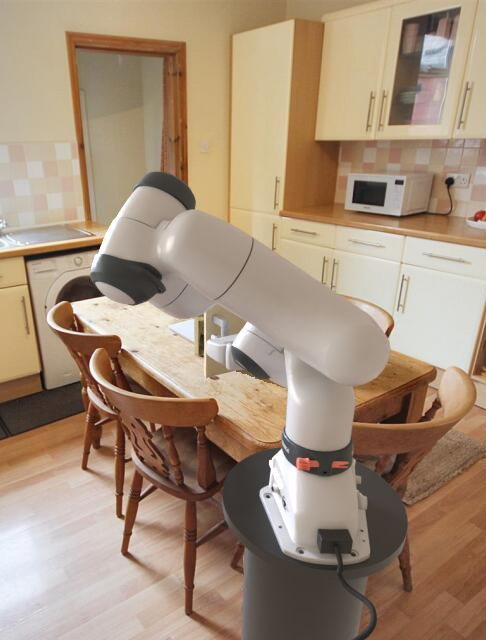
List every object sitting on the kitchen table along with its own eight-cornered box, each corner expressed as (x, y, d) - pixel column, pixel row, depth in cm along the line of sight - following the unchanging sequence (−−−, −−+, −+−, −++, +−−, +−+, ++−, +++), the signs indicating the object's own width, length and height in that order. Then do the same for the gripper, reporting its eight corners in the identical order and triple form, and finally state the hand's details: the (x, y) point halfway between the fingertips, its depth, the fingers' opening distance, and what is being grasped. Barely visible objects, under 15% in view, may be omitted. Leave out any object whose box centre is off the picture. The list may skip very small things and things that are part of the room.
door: (293, 368, 138) (299, 282, 129) (216, 387, 128) (217, 296, 118) (278, 359, 144) (283, 277, 135) (204, 377, 134) (204, 290, 124)
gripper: (294, 332, 115) (261, 316, 127) (224, 347, 107) (195, 329, 119) (292, 355, 118) (260, 338, 129) (223, 371, 109) (195, 351, 121)
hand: (228, 334), depth 124 cm, fingers open, 8 cm apart
